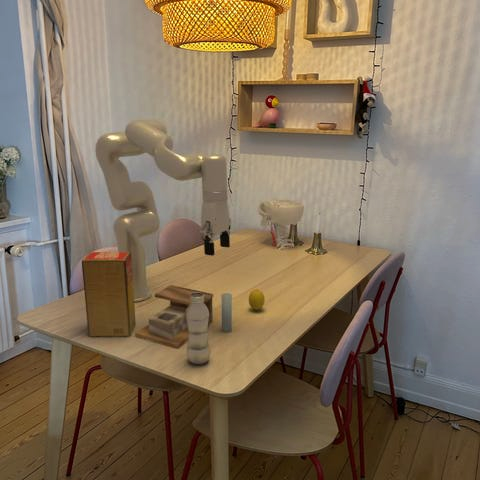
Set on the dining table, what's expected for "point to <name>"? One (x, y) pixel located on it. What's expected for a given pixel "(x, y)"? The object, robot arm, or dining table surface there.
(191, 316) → the plastic bottle
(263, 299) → the lemon
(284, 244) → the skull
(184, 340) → the stand
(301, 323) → the dining table surface
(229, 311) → the peg
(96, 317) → the food packaging
